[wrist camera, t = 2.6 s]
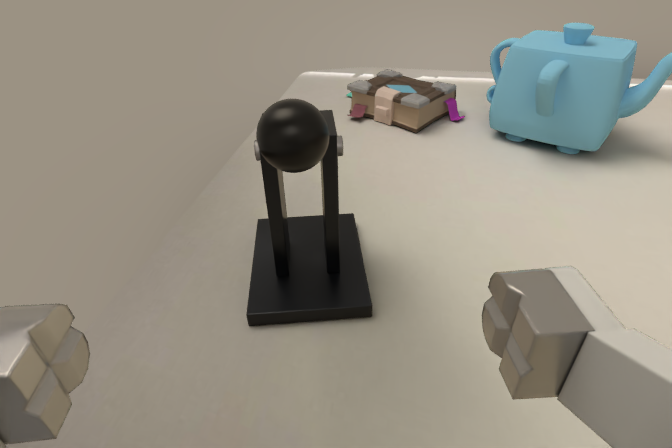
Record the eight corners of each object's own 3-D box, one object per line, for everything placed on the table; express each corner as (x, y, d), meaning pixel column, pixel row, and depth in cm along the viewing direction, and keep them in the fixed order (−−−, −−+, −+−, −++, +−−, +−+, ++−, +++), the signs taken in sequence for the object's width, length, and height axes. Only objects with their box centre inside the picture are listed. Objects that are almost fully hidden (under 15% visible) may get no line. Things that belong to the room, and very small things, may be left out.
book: (313, 109, 66) (311, 76, 63) (362, 88, 74) (362, 58, 71) (424, 144, 55) (428, 106, 53) (469, 116, 63) (475, 81, 60)
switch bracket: (371, 317, 32) (378, 160, 24) (248, 326, 31) (216, 169, 24) (353, 223, 42) (354, 91, 34) (259, 229, 41) (239, 96, 34)
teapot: (507, 166, 50) (537, 44, 42) (467, 113, 64) (483, 13, 56) (661, 160, 51) (719, 38, 43) (589, 109, 64) (623, 9, 56)
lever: (333, 170, 18) (328, 91, 17) (255, 175, 18) (248, 94, 17) (323, 169, 32) (320, 125, 31) (279, 172, 32) (276, 127, 31)
